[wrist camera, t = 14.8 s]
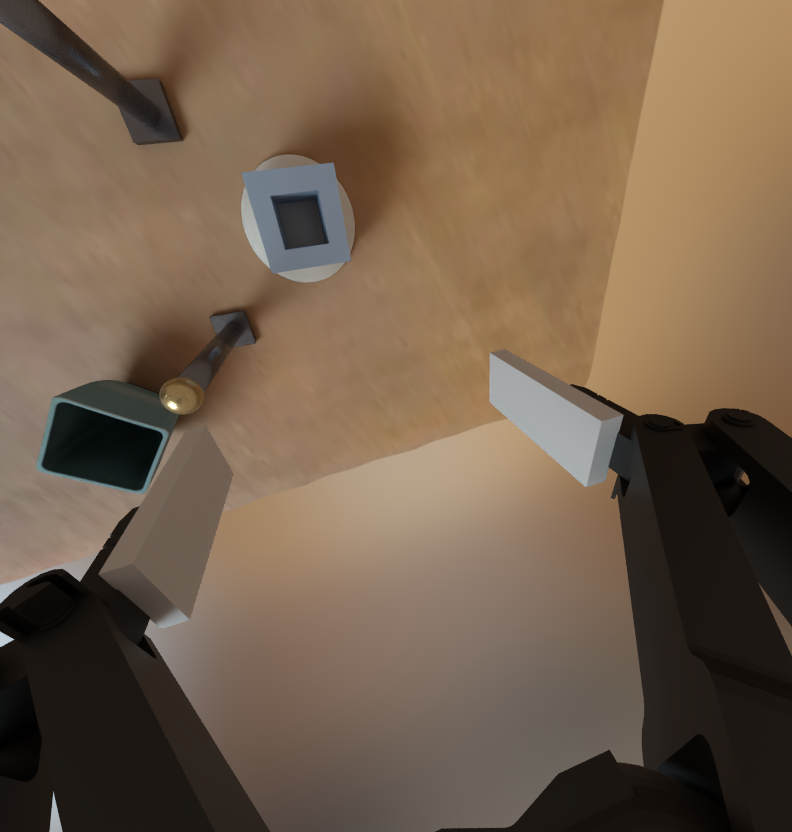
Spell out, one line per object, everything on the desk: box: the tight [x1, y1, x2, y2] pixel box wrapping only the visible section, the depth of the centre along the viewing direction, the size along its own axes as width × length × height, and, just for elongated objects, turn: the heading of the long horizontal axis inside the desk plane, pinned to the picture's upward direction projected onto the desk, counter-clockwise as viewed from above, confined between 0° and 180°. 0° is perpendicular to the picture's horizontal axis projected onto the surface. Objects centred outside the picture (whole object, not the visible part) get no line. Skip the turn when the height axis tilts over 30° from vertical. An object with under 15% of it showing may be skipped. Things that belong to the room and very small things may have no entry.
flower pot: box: [36, 380, 179, 494], centre depth 33 cm, size 9×9×9 cm
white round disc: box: [241, 154, 355, 283], centre depth 32 cm, size 11×11×1 cm
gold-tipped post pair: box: [0, 0, 256, 414], centre depth 22 cm, size 4×22×19 cm, turn 7°
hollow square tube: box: [242, 163, 351, 274], centre depth 29 cm, size 7×7×7 cm
